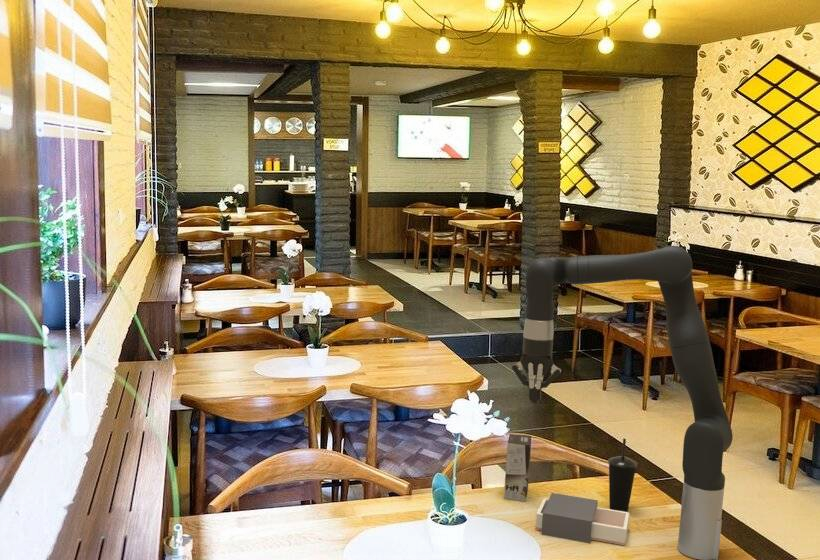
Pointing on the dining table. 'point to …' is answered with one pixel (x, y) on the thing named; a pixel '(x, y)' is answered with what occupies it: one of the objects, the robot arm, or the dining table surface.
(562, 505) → the sleeve
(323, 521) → the dining table surface
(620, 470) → the drinking cup
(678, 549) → the robot arm
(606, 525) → the sliding drawer box
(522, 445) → the coffee box
